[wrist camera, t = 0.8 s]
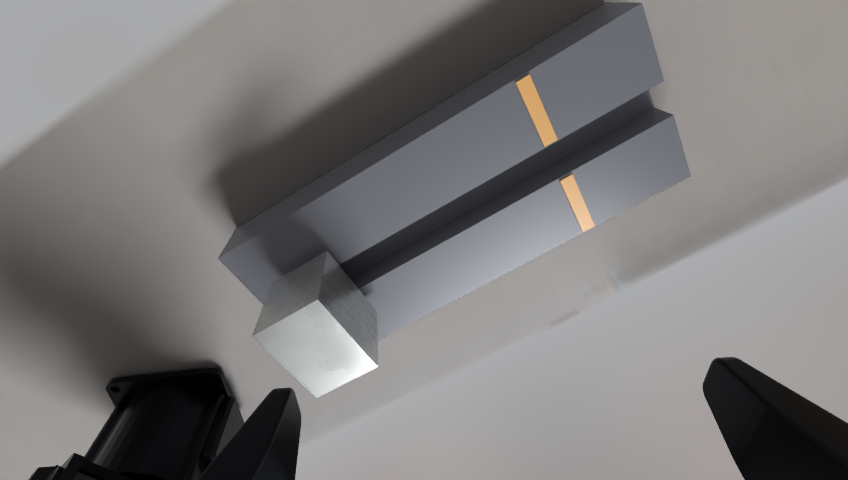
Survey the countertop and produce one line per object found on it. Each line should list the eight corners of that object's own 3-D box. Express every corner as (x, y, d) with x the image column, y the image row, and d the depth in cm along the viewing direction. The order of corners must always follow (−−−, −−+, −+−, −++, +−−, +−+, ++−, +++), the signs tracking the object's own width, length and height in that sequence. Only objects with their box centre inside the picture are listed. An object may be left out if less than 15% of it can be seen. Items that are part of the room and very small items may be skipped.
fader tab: (328, 315, 23) (316, 397, 18) (279, 260, 21) (252, 336, 17) (376, 289, 23) (377, 366, 18) (330, 230, 21) (318, 299, 16)
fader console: (330, 330, 26) (325, 369, 23) (236, 228, 22) (217, 259, 20) (654, 155, 23) (691, 177, 20) (605, 2, 19) (643, 3, 16)
